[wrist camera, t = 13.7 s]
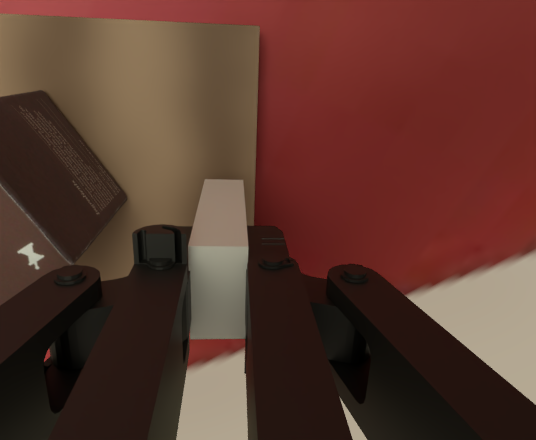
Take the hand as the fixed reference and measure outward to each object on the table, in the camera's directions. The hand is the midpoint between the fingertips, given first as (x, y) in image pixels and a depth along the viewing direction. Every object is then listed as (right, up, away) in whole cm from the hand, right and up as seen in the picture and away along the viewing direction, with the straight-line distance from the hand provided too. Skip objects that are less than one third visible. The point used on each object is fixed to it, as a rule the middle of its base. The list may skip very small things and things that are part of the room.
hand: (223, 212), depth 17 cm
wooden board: (-7, +2, +6) cm, 9 cm away
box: (-9, +2, +3) cm, 9 cm away
